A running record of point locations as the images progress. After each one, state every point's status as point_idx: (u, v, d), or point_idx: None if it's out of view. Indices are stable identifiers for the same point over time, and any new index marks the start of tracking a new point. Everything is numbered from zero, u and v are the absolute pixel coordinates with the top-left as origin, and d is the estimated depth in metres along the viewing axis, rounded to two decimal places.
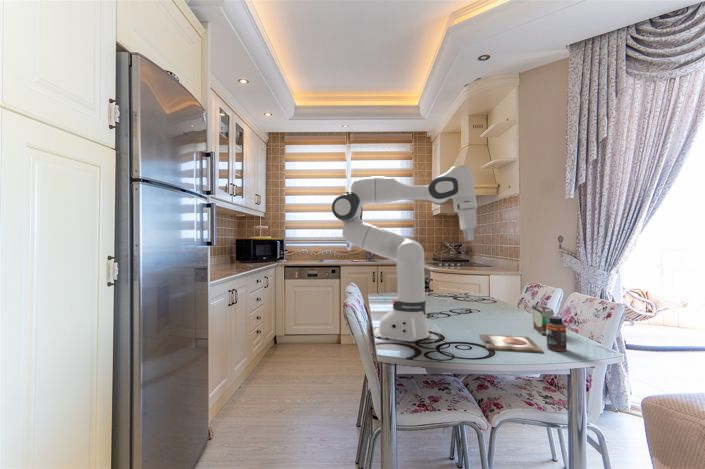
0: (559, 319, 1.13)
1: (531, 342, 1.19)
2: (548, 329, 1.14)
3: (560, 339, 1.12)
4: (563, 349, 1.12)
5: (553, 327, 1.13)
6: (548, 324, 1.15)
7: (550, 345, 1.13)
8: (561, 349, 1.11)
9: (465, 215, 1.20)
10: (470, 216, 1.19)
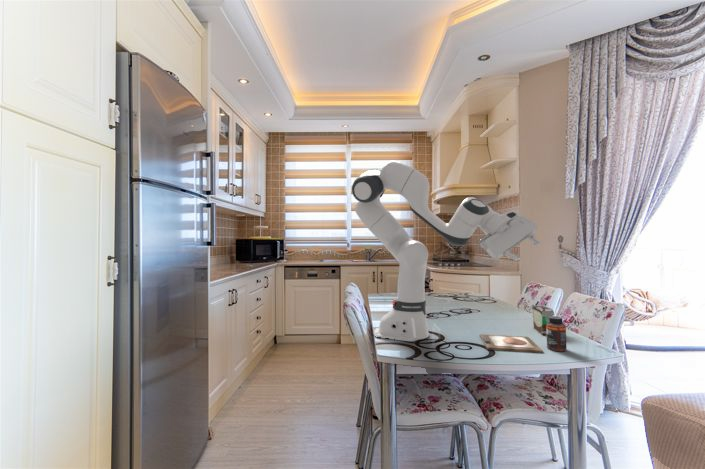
0: (559, 319, 1.13)
1: (531, 342, 1.19)
2: (548, 329, 1.14)
3: (560, 339, 1.12)
4: (563, 349, 1.12)
5: (553, 327, 1.13)
6: (548, 324, 1.15)
7: (550, 345, 1.13)
8: (561, 349, 1.11)
9: None
10: None
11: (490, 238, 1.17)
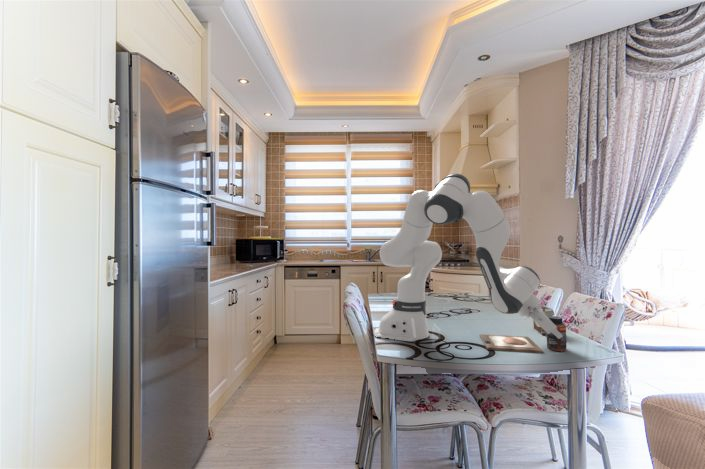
0: (559, 319, 1.13)
1: (531, 342, 1.19)
2: None
3: (560, 339, 1.12)
4: (563, 349, 1.12)
5: None
6: None
7: (550, 345, 1.13)
8: (561, 349, 1.11)
9: None
10: None
11: (539, 310, 1.11)
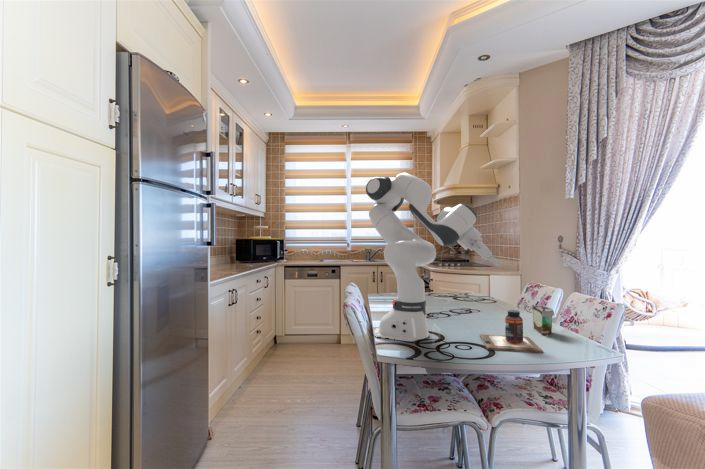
0: (516, 312, 1.19)
1: (531, 342, 1.19)
2: (506, 322, 1.20)
3: (516, 331, 1.17)
4: (519, 341, 1.17)
5: (510, 320, 1.18)
6: (506, 317, 1.20)
7: (508, 337, 1.19)
8: (517, 341, 1.17)
9: None
10: None
11: None
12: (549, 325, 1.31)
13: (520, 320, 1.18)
